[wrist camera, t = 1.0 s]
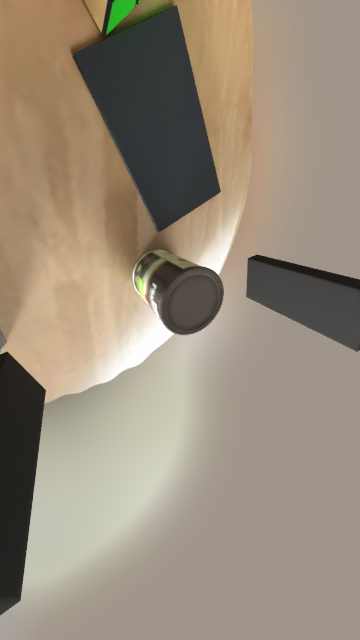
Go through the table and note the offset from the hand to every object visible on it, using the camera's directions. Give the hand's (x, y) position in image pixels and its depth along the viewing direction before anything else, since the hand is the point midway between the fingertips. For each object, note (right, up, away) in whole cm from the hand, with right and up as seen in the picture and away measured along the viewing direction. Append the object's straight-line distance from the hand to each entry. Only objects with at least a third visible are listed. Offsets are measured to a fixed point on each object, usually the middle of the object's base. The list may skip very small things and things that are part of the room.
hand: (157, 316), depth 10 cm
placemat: (-1, +26, +17) cm, 32 cm away
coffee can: (-3, +8, +27) cm, 28 cm away
